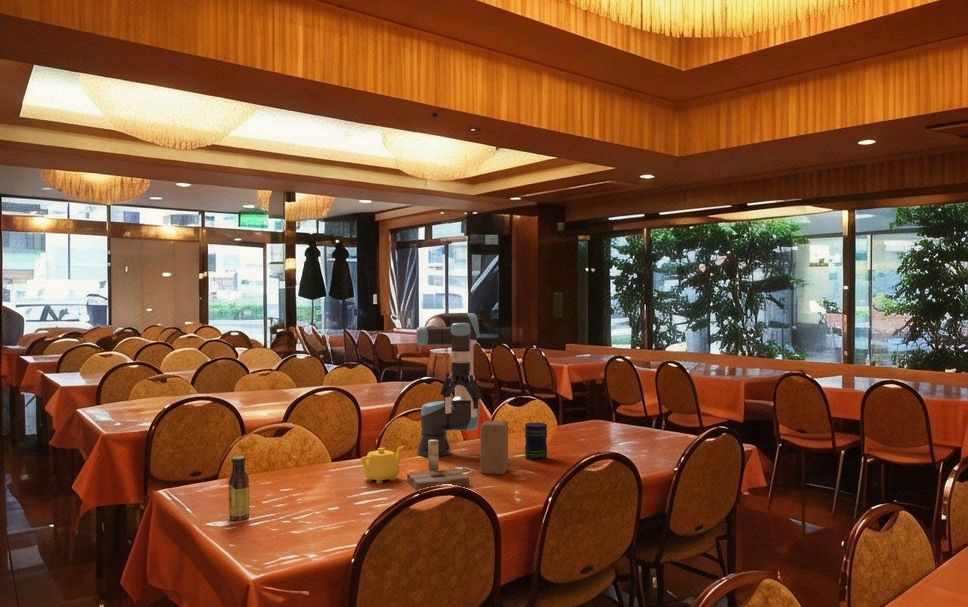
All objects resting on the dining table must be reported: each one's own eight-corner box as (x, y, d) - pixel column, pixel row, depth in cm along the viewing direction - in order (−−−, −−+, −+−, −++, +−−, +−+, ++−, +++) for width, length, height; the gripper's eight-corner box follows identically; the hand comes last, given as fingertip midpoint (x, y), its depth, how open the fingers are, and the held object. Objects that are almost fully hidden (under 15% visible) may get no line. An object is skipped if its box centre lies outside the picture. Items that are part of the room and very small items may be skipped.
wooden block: (504, 475, 275) (504, 425, 275) (479, 474, 277) (479, 424, 277) (508, 469, 285) (508, 420, 285) (484, 468, 287) (484, 420, 287)
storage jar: (521, 459, 302) (521, 425, 302) (528, 455, 311) (528, 421, 311) (543, 461, 298) (543, 427, 298) (550, 456, 307) (550, 423, 307)
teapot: (413, 478, 271) (413, 446, 271) (371, 487, 258) (371, 454, 258) (393, 472, 281) (393, 441, 281) (351, 480, 268) (351, 448, 268)
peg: (426, 475, 276) (426, 440, 276) (437, 474, 278) (436, 439, 278) (430, 477, 272) (429, 442, 272) (440, 476, 274) (440, 441, 274)
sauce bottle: (231, 515, 225) (231, 454, 225) (251, 515, 225) (251, 454, 225) (226, 522, 218) (225, 459, 218) (246, 521, 219) (246, 458, 219)
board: (407, 481, 266) (407, 473, 266) (456, 476, 274) (456, 468, 274) (417, 491, 252) (417, 483, 252) (469, 486, 260) (469, 478, 260)
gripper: (431, 360, 279) (431, 412, 280) (478, 364, 263) (478, 420, 264) (444, 359, 285) (444, 410, 285) (491, 363, 269) (491, 417, 269)
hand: (460, 415), depth 275 cm, fingers open, 13 cm apart
